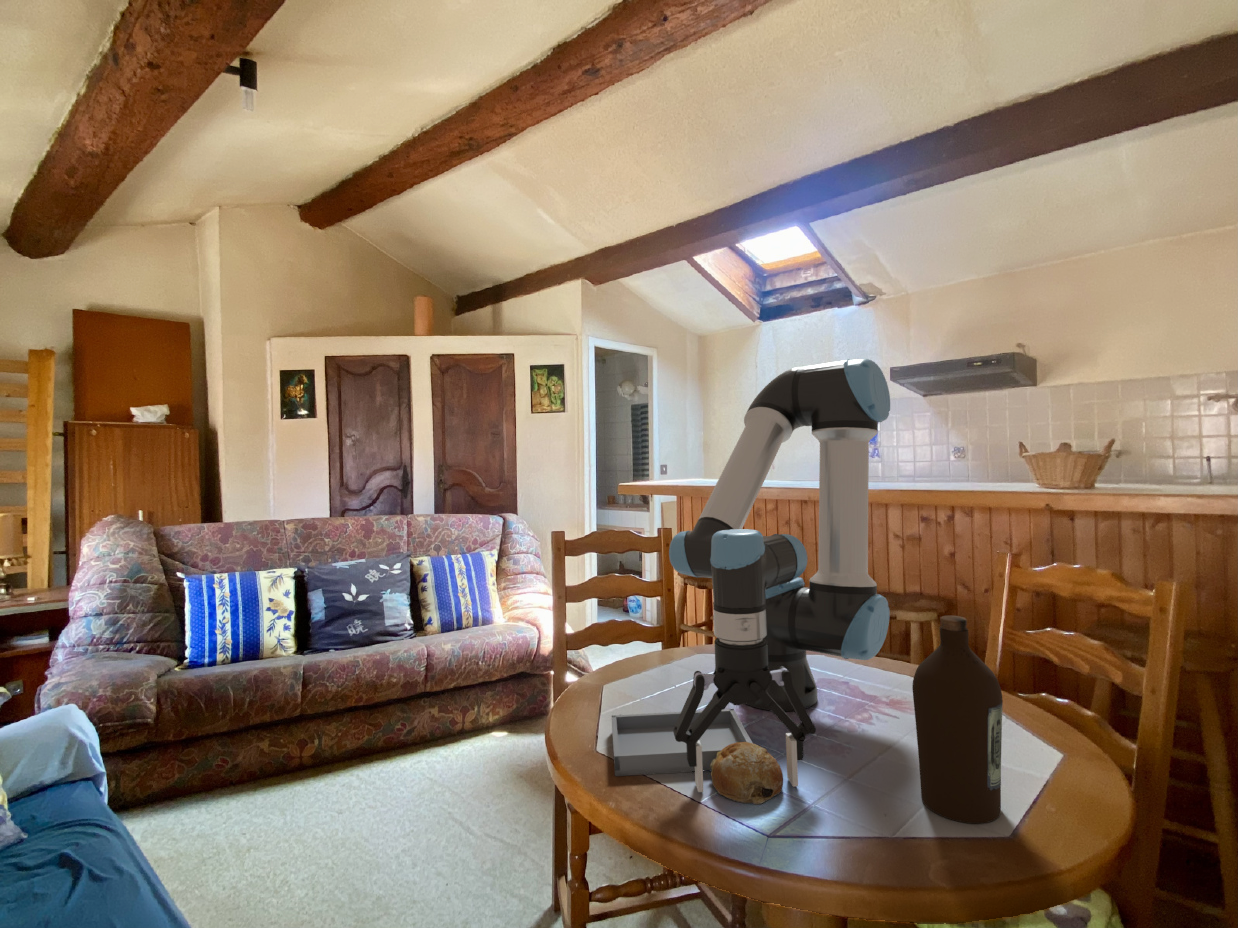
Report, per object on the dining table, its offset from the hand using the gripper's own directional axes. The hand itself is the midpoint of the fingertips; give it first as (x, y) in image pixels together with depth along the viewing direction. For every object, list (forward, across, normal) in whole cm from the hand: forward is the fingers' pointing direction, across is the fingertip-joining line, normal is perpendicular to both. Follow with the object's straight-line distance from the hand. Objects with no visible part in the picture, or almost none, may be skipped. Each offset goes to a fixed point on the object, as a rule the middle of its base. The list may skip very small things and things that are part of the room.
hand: (746, 784), depth 93 cm
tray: (0, -8, +13) cm, 15 cm away
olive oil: (0, +27, -8) cm, 28 cm away
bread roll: (+1, 0, 0) cm, 1 cm away
